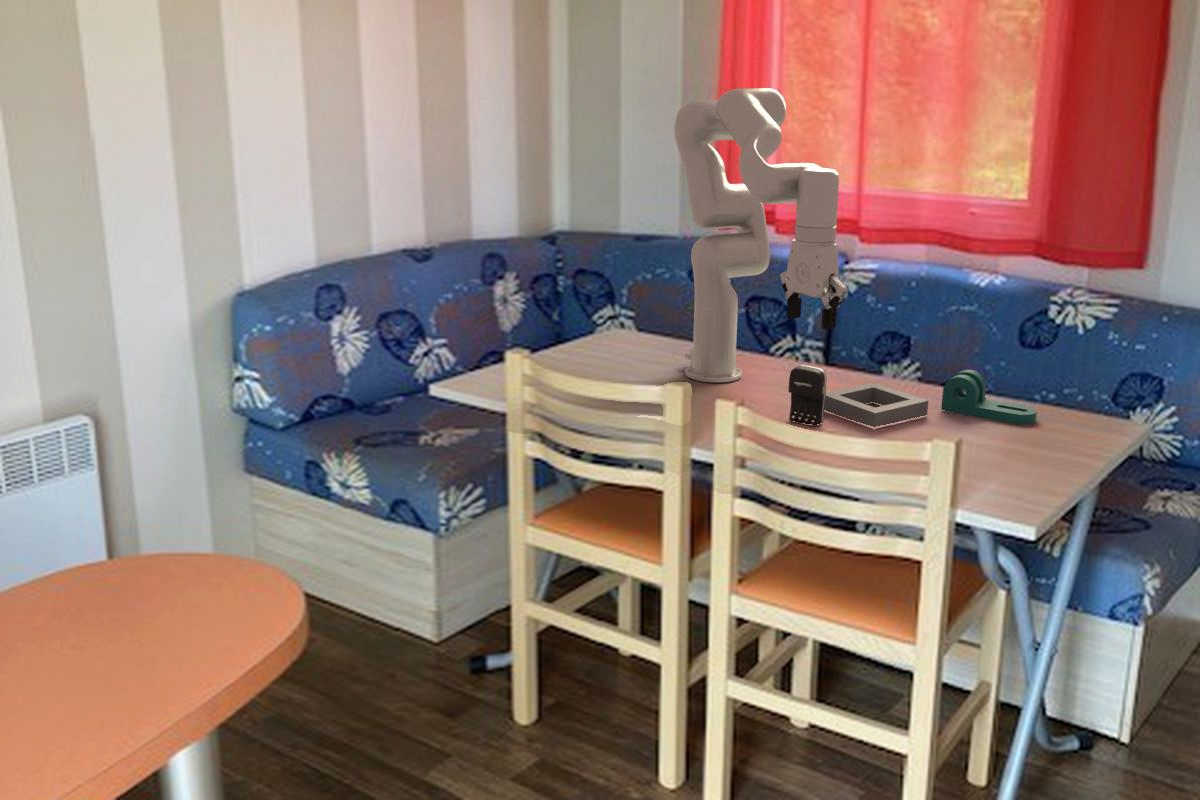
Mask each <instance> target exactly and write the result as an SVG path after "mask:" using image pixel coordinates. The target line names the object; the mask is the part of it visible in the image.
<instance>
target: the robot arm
mask: <svg viewBox="0 0 1200 800" xmlns="http://www.w3.org/2000/svg"><path fill="white" fill-rule="evenodd" d="M786 117H787V106H786V102H785V99H784V97H783V96H782V95H781V94H780V92H778V90H776V89H773V88H770V87H769V88H767V87H766V88H765V87H761V88H760V87H759V88H750V87H749V88H735V89H730V90H727V91H726V92H724V93H723V94H721V95H720V96H719V98H718V99H709V100H707V99H706V100H705V99H704V100H697V101H691V102H688V103H686V104H684V105H683V106H681V108H679V110H678V111H677V114H676V116H675V121H674V137H675V143H676V146H677V149H678V152H679V155H680V157H681V159H682V163H683V165H684V166H683V167H684V171H685V175H686V183H687V190H688V195H689V197H688V198H689V203H690V208H691V213H692V214H691V215H692V219H693V221H694V224H695V225H696V226H697V227H698V228H700V229H704V230H717V229H718V230H720V229H735V228H736V229H737V232H736V233H735V232H734V233H719V234H718V233H717V234H710V235H706V236H703V237H700V238H699V239H698V240H696V241H695V242H694V244H693V246H692V248H691V252H690V253H691V254H690V258H691V267H692V272H693V273H692V275H693V283H694V285H693V286H694V299H693V300H694V306H693V307H694V308H693V309H694V310H693V336H692V337H693V339H692V340H693V342H692V349H691V350H690V351H689V352H686V353H685V355H684V358H685V359H687V360H689V361H690V365H689V366H687V367H686V368H685V376H686V377H687V378H689V379H691V380H694V381H699V382H702V383H715V384H716V383H717V384H718V383H731V382H734V381H737V380H739V379H741V378H742V376H743V370H742V369H741V368H740V367H737V366H736V359H737V358H736V355H737V334H738V333H737V331H738V312H739V311H738V310H739V308H738V307H739V299H738V295H737V292H736V290H735V289H734V287H733V285H732V284H731V283H730V279H732V278H740V277H750V276H752V277H753V276H758V275H760V274H762V273H764V272H765V271H767V269H768V267H769V264H770V261H771V250H770V240H769V233H768V226H767V219H766V212H765V206H764V204H765V205H780V204H781V205H783V204H796V217H795V220H796V221H795V226H794V231H795V239H792V242H791V243H790V249H789V254H788V260H787V266H786V270H785V271H783V272H781V273H780V275H779V276H780V280H781V284H782V285H781V286H782V290H783V291H784V293H785V295H784V297H785V298H786V299H787V301H786V319H787V320H794V319H798V318H801V316H802V315H801V314H802V302H803V301H802V297H800V296H801V295H803V296H807V297H811V298H815V299H817V298H820V299H821V301H822V303H823V305H824V307H822V312H821V329H823V330H829V329H835V328H836V326H837V315H838V314H837V313H838V312H837V311H838V309H839V308H840V307H841V304H842V303H843V302H844V300H845V297H846V296H847V293H848V290H849V289H848V287H847V285H845V283H843V282H842V281H841V280H840V279H839V273H840V271H839V269H840V267H839V265H840V264H839V253H838V245H837V243H836V238H837V237H836V236H837V235H836V234H837V223H838V222H837V221H838V220H837V219H838V205H839V204H838V203H839V190H840V189H839V188H840V187H839V186H840V175H839V173H838V172H837V170H836V169H833V168H826V167H821V166H820V165H819V164H818V165H817V164H815V163H811V162H799V163H792V162H791V163H775V164H774V163H773V164H769V163H767V162H766V161H765V160H767V159H768V158H769V157H771V156H772V155H773V154H774V153H775V152H776V151H777V150H778V148H779V147H780V145H781V143H782V140H783V139H782V137H783V135H782V130H781V128H780V127H781V126H782V125H783V123H784V121H785V119H786ZM711 141H734V142H735V144H737V146H738V147H739V148H740V154H739V159H738V169H739V174H740V175H739V176H740V179H741V183H729V181H728V179H727V175H726V166H725V163H724V160H723V158H722V157H721V155H720V154H719V152H718V151H717V150H716V149H715V148H714V147H713V146H712V145H711V144H710V142H711ZM742 182H743V183H742Z"/></svg>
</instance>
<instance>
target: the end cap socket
mask: <svg viewBox="0 0 1200 800" xmlns="http://www.w3.org/2000/svg"><path fill="white" fill-rule="evenodd" d="M870 402H875V403H878V404H881V405H884V406H877V407H875V406H872V405H870V404H868V405H866V403H870ZM928 408H929V400H928V399H925V398H923V397H922V398H921V397H918V396H916V395H912V394H909V393H906V392H903V391H901V390H897V389H894V388H892V387H889V386H886V385H882V384H879V383H876V382H871V383H865V384H860V385H856V386H851V387H847V388H842V389H838V390H833V391H829V392H826V395H825V404H824V410H826V411H828V412H831V413H834V414H836V415H839V416H842V417H845V418H847V419H850V420H854V421H856V422H860V423H863V424H866V425H870V426H873V427H876V426H880V425H886V424H890V423H895V422H899V421H903V420H907V419H911V418H915V417H916V418H917V417H920V416H925V415H927V416H928V412H929V411H928V410H929V409H928Z"/></svg>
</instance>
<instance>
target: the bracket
mask: <svg viewBox="0 0 1200 800" xmlns="http://www.w3.org/2000/svg"><path fill="white" fill-rule="evenodd" d="M986 390H987V383H986V380H985V378H984V377H983V375H982V374H980V372H978V371H976V370H973V369H965V370H964V369H963V370H961V371H959V372H958V373H957V374H955V375H954V376H953V377H951V378H950V379H948V380H947V381H946V383H944V386H943V389H942V395H941V396H942V398H941V406H940V407H941V408H940V410H941V409H942V410H945V411H944V412H946V411H950V412H949V413H951V412H954V413H953V414H957V413H959V414H958V415H962V414H963V416H968V415H969V417H973V418H974V417H975V418H979V417H980V418H979V419H985V420H991V421H997V422H1003V423H1008V424H1014V425H1022V426H1023V425H1032V424H1035V423H1036V422H1037V414H1038V411H1037V409H1036V408H1034V407H1032V406H1028V405H1024V404H1019V403H1018V404H1017V403H1013V402H1012V403H1011V402H1007V401H1000V400H996V399H995V400H994V399H988V398H986Z"/></svg>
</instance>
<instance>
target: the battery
mask: <svg viewBox="0 0 1200 800" xmlns="http://www.w3.org/2000/svg"><path fill="white" fill-rule="evenodd" d="M788 393H790V411H789V419H788V420H789V421H790V420H791V421H790V422H792V421H795V422H798V423H797V424H799V423H805V424H812V425H817V424H820V423H824V414H825V412H824V404H825V395H826V393H827V374H826V372H825V370H824V369H823V368H819V367H815V366H810V365H805V364H804V365H803V364H799V365H797V366H796V367H793V368H792V369H791V371H790V373H789V379H788ZM795 422H794V423H795Z"/></svg>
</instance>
